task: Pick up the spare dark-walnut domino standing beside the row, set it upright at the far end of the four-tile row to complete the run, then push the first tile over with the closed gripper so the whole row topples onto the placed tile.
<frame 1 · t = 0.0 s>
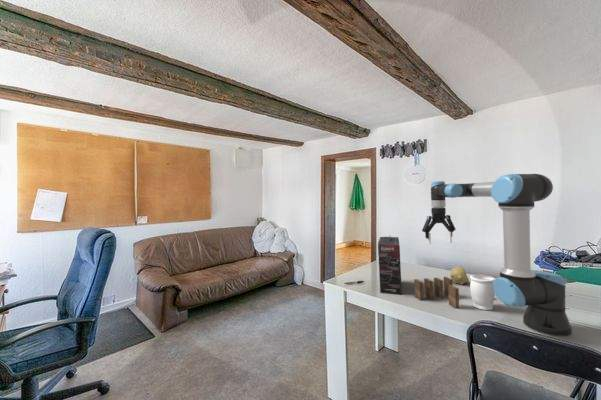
hand: (439, 243, 160), 28 cm above the table, fingers open, 13 cm apart
headset box: (390, 287, 168), on the table
yellow lumpy round lump: (459, 283, 171), on the table
game piece set: (497, 296, 150), on the table
domino 2: (438, 296, 150), on the table
jar: (482, 307, 135), on the table
domino 4: (418, 298, 148), on the table
domino 1: (448, 295, 151), on the table
domino 5: (453, 306, 137), on the table
domino 3: (428, 297, 149), on the table
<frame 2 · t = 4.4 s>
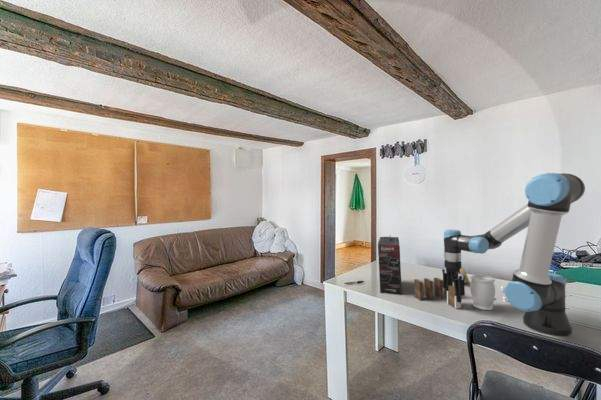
hand: (453, 305, 137), 0 cm above the table, fingers closed on domino 5, 5 cm apart
domino 5: (453, 306, 137), on the table, touching gripper
everything else where it was.
when the fingers open (1 cm above the table, at t = 9.6 s): domino 5 stays where it is, on the table.
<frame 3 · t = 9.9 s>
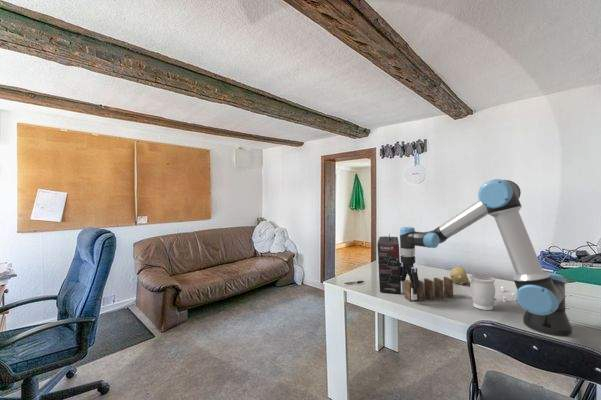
hand: (408, 296, 147), 2 cm above the table, fingers open, 10 cm apart
headset box: (389, 286, 168), on the table, touching hand
domino 5: (408, 299, 147), on the table
everything else where it was.
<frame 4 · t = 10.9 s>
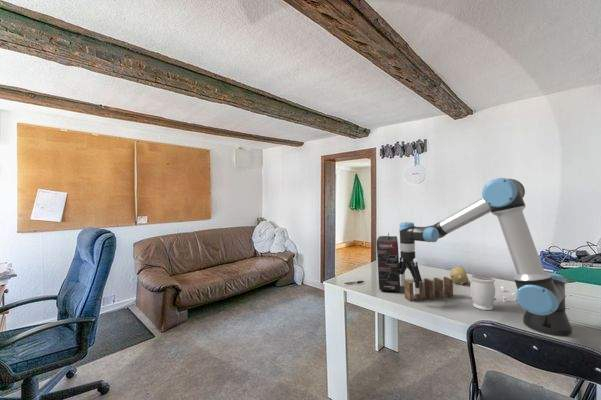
hand: (409, 289, 147), 6 cm above the table, fingers open, 13 cm apart
headset box: (389, 285, 169), on the table
everything else where it was.
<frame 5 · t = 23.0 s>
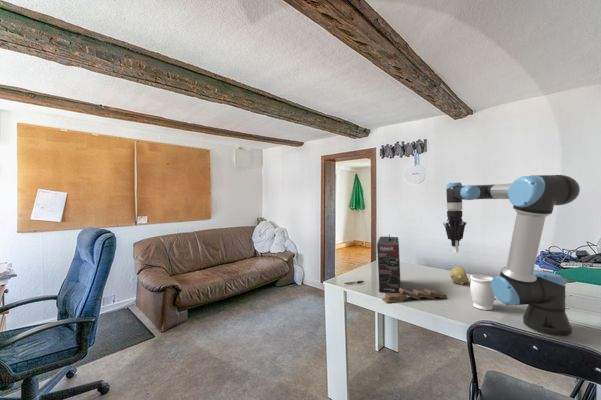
hand: (455, 251, 151), 24 cm above the table, fingers closed
domino 2: (432, 296, 149), point 1 cm above the table, tilted 75°, touching domino 3
domino 4: (404, 295, 147), point 2 cm above the table, tilted 90°, touching domino 3, domino 5
domino 1: (443, 295, 149), point 1 cm above the table, tilted 75°
domino 5: (401, 299, 147), on the table, tilted 90°, touching domino 4
domino 3: (417, 296, 148), point 1 cm above the table, tilted 69°, touching domino 2, domino 4
at the end: domino 5 tilted 90°; domino 1 tilted 75°; domino 5 inside the target area (1.3 cm from its centre), on the table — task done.
